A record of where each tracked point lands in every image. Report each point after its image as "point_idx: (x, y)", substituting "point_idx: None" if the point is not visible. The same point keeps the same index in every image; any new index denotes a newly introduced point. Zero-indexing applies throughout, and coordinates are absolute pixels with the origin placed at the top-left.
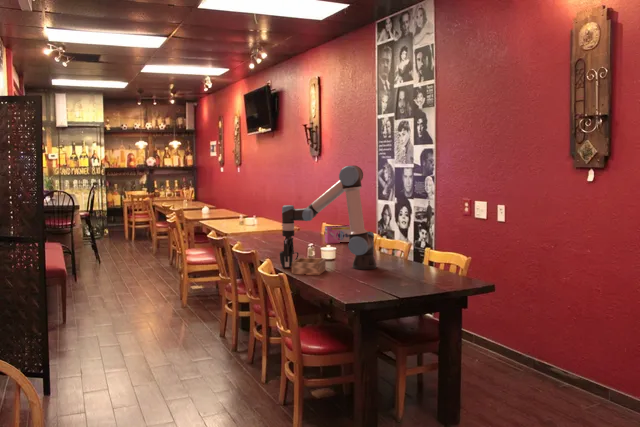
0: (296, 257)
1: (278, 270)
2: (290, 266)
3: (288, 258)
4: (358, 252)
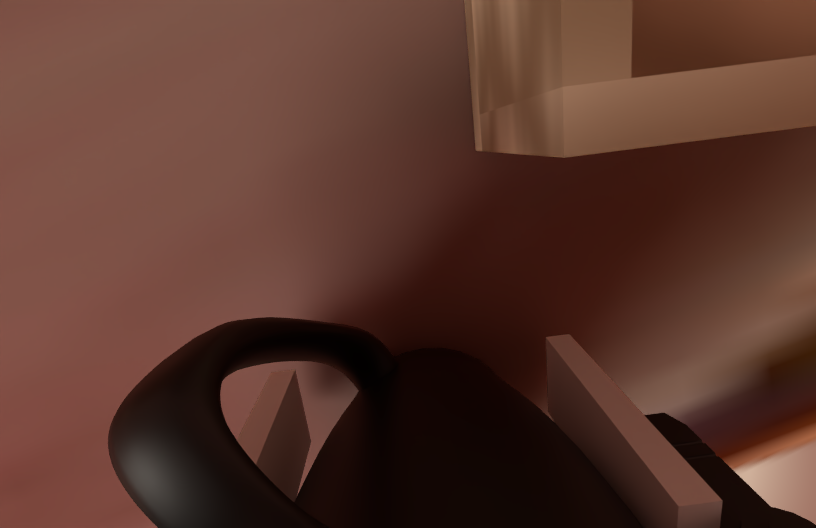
0: (272, 355)
1: (701, 425)
2: (435, 350)
3: (676, 463)
4: None
